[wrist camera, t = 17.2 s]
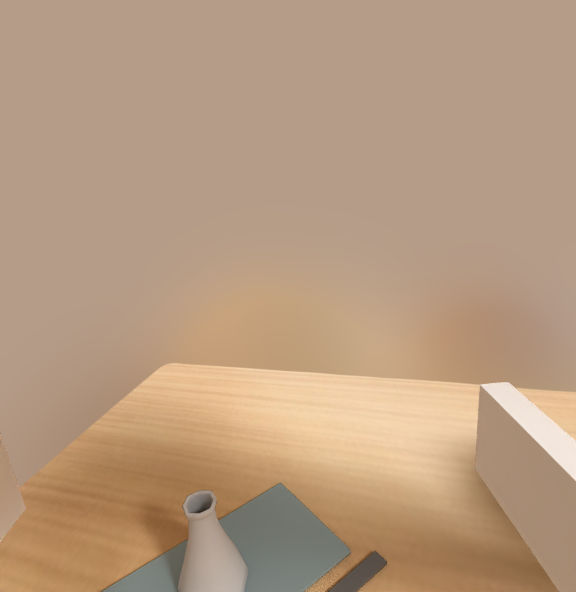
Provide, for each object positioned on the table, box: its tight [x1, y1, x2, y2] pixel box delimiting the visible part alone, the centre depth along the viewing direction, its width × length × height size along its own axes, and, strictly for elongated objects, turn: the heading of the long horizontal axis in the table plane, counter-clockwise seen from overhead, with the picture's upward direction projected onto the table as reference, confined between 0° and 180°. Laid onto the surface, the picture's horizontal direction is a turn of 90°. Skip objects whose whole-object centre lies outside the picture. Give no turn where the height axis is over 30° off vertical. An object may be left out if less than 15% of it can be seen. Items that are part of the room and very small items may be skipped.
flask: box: [177, 490, 249, 592], centre depth 39 cm, size 7×7×10 cm
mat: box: [102, 483, 350, 592], centre depth 40 cm, size 26×13×1 cm, turn 127°
